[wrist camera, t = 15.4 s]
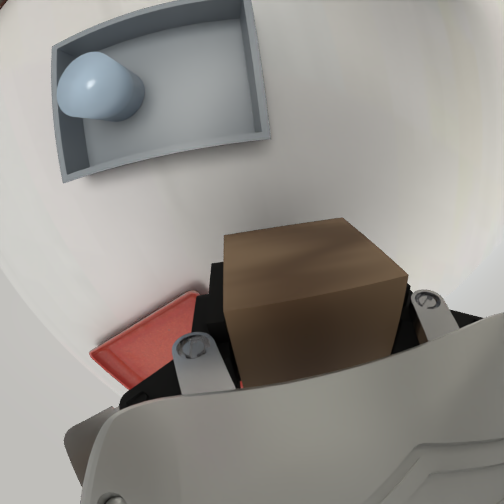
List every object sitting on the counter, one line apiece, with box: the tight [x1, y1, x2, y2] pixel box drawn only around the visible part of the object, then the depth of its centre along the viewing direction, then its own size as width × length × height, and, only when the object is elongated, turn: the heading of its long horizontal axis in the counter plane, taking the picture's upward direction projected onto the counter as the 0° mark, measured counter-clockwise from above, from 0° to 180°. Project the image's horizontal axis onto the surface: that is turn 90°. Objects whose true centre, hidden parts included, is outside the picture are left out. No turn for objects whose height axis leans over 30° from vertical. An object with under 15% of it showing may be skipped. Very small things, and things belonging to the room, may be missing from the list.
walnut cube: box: [223, 218, 408, 388], centre depth 10 cm, size 5×5×5 cm
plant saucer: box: [89, 290, 243, 390], centre depth 31 cm, size 18×18×3 cm
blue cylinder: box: [57, 52, 145, 122], centre depth 16 cm, size 5×5×7 cm
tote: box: [51, 0, 271, 183], centre depth 18 cm, size 17×13×5 cm
